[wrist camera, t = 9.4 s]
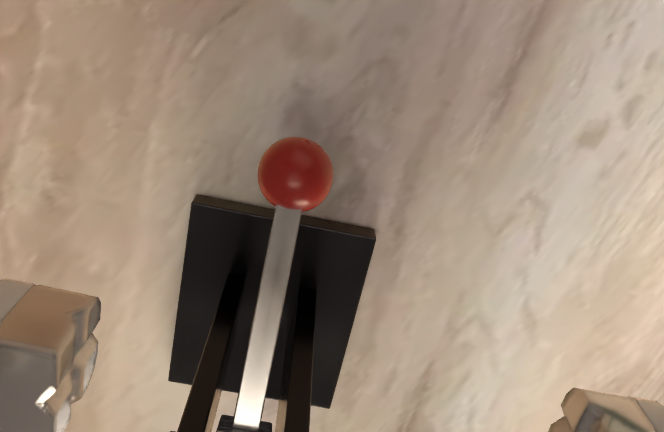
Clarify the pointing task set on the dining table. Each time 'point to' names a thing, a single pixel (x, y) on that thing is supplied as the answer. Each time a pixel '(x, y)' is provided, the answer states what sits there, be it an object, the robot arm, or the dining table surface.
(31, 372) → the robot arm
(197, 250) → the switch bracket
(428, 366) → the dining table surface
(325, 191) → the switch lever
